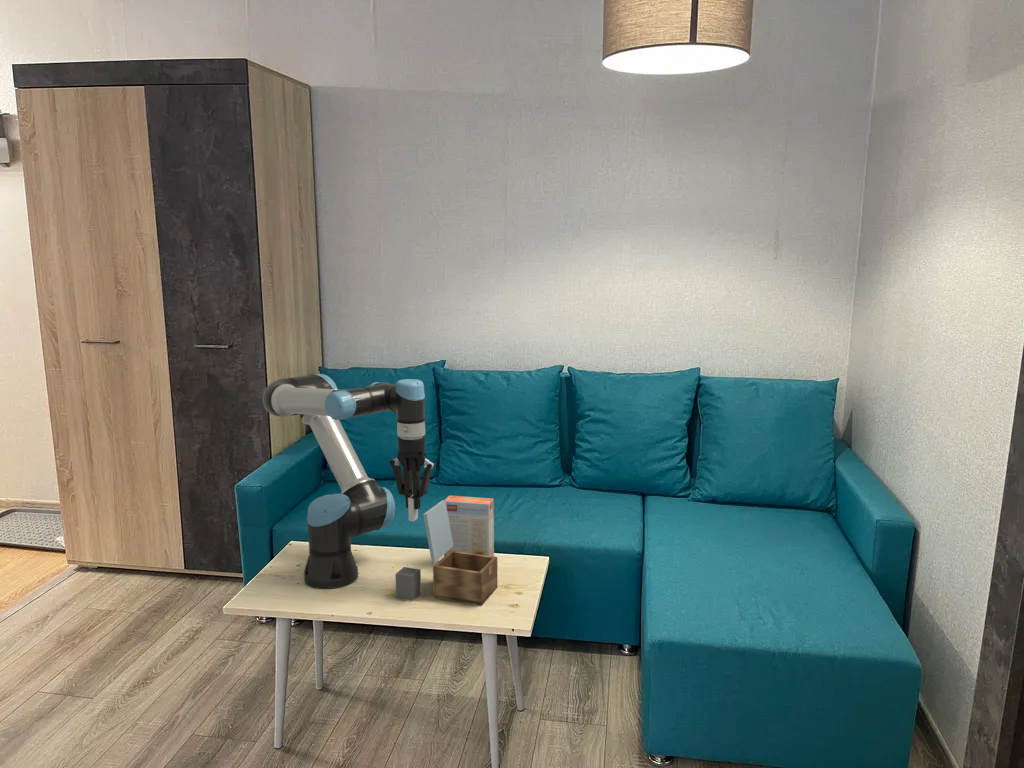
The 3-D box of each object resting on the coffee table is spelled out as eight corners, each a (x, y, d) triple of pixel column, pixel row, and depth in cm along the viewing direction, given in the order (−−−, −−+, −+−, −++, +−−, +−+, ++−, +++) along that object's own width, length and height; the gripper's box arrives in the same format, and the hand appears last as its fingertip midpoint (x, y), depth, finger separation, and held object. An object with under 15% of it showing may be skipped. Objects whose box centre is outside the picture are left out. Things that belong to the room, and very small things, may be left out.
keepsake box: (432, 597, 216) (432, 566, 215) (450, 580, 227) (450, 550, 226) (482, 605, 212) (482, 573, 210) (498, 587, 223) (498, 557, 221)
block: (396, 598, 216) (395, 573, 215) (404, 590, 221) (404, 566, 219) (412, 601, 214) (412, 576, 213) (420, 593, 219) (420, 569, 218)
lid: (435, 562, 214) (431, 562, 214) (453, 545, 225) (450, 545, 226) (426, 514, 212) (423, 514, 213) (445, 500, 224) (442, 500, 224)
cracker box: (494, 564, 239) (494, 497, 235) (489, 572, 233) (489, 504, 229) (449, 560, 242) (449, 494, 238) (443, 568, 236) (442, 500, 232)
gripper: (383, 437, 216) (385, 521, 220) (427, 441, 211) (428, 526, 215) (396, 431, 223) (398, 512, 227) (439, 435, 218) (440, 517, 222)
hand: (413, 519), depth 221 cm, fingers closed
